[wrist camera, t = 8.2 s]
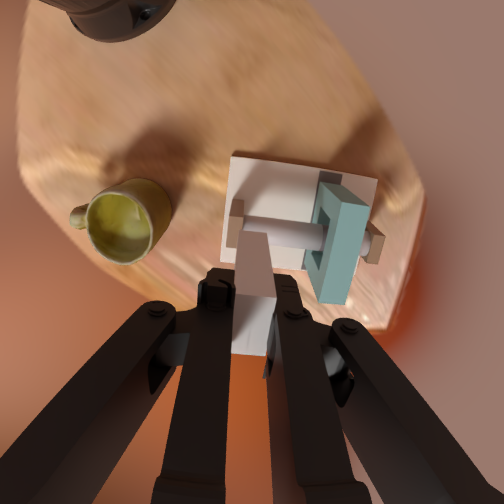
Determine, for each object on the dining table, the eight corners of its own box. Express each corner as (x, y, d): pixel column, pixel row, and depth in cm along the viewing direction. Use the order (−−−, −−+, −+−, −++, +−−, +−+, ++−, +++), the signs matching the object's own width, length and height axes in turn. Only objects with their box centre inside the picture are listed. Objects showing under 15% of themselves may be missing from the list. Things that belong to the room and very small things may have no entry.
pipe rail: (220, 259, 44) (214, 289, 37) (231, 155, 39) (227, 164, 31) (352, 273, 45) (371, 303, 38) (375, 178, 40) (402, 192, 32)
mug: (190, 178, 38) (147, 220, 30) (177, 240, 44) (141, 287, 37) (110, 147, 38) (59, 180, 30) (107, 209, 45) (65, 247, 37)
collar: (304, 262, 43) (318, 302, 34) (319, 181, 38) (341, 202, 29) (325, 265, 43) (344, 304, 34) (342, 185, 39) (370, 206, 29)
